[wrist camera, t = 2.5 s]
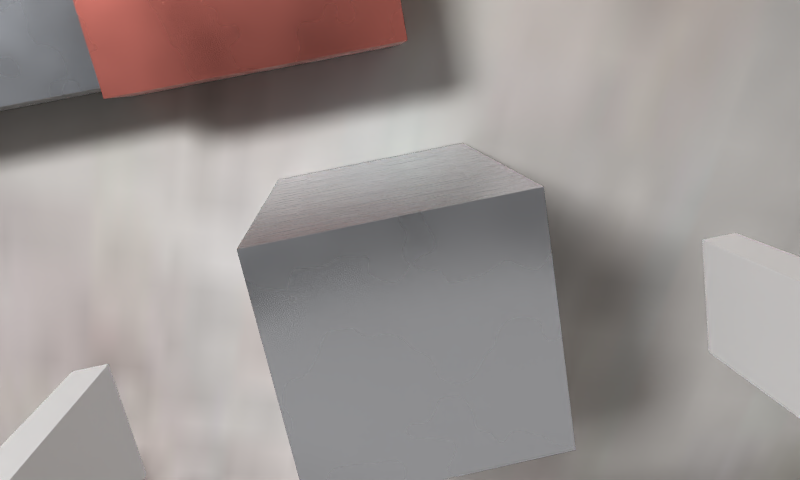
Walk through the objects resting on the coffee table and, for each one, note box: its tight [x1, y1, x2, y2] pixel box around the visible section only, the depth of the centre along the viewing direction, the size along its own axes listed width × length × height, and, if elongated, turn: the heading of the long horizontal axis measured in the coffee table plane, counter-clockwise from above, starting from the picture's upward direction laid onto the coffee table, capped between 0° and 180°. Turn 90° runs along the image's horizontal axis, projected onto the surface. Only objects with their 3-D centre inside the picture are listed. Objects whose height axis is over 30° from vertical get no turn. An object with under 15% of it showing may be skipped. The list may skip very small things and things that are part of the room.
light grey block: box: [237, 143, 576, 480], centre depth 16 cm, size 6×6×8 cm
